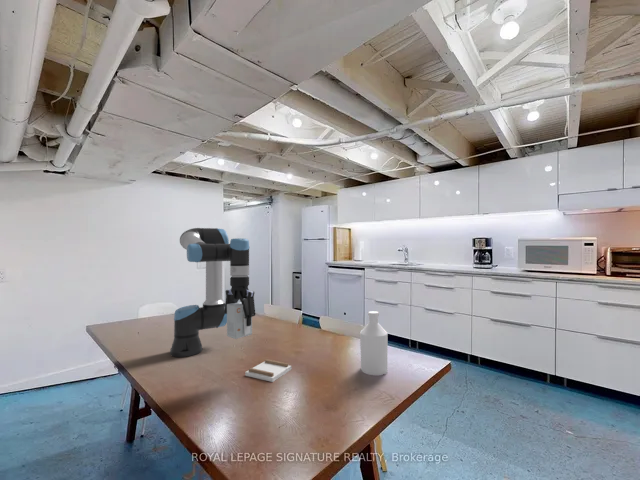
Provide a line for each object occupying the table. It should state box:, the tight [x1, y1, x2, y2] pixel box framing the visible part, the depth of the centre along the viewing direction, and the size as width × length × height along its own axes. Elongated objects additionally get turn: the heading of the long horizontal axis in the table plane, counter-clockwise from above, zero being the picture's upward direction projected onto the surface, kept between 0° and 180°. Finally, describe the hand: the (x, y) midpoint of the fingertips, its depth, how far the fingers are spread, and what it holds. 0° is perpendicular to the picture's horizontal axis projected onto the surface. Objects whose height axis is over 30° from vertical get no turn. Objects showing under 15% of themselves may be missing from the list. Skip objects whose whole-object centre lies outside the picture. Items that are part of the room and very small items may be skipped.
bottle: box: [359, 310, 389, 376], centre depth 129 cm, size 12×12×25 cm
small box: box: [226, 301, 253, 340], centre depth 120 cm, size 8×6×13 cm
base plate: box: [244, 358, 292, 383], centre depth 127 cm, size 14×14×3 cm
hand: (239, 332), depth 120 cm, fingers closed on small box, 7 cm apart
